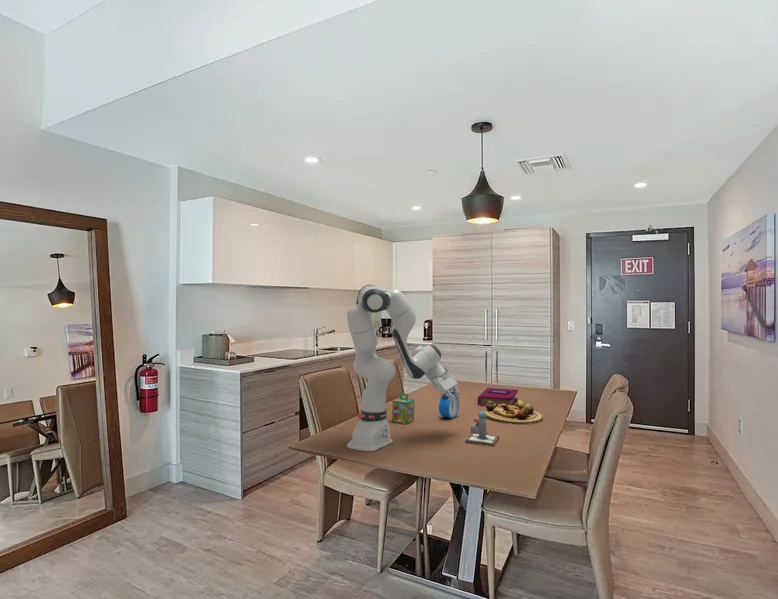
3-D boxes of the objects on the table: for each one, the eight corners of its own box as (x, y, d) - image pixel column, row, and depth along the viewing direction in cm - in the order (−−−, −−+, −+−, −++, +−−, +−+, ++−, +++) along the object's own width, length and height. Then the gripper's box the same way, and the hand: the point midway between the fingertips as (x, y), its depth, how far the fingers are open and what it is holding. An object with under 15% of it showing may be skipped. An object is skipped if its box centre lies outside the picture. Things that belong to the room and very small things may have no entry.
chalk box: (391, 422, 247) (391, 394, 247) (399, 418, 255) (399, 391, 255) (407, 424, 243) (407, 396, 243) (414, 420, 251) (414, 393, 251)
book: (477, 406, 286) (477, 394, 286) (485, 397, 312) (485, 386, 312) (512, 409, 278) (512, 397, 278) (518, 400, 304) (518, 388, 304)
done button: (482, 427, 225) (482, 419, 225) (473, 426, 226) (473, 418, 226) (483, 425, 228) (483, 417, 228) (475, 424, 230) (475, 417, 230)
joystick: (485, 439, 214) (485, 413, 214) (477, 438, 215) (478, 412, 215) (486, 437, 217) (486, 411, 217) (479, 436, 218) (479, 410, 218)
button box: (483, 436, 223) (484, 427, 223) (470, 434, 226) (470, 426, 226) (486, 432, 229) (486, 424, 229) (473, 431, 231) (473, 423, 231)
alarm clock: (447, 420, 250) (448, 393, 250) (438, 419, 254) (438, 391, 254) (459, 416, 261) (459, 389, 261) (449, 414, 265) (449, 388, 265)
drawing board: (493, 446, 207) (493, 443, 207) (465, 442, 213) (465, 439, 213) (499, 438, 219) (499, 435, 219) (471, 435, 225) (471, 432, 225)
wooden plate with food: (472, 416, 261) (472, 402, 261) (502, 407, 283) (503, 393, 283) (523, 429, 238) (523, 413, 238) (552, 418, 260) (553, 403, 260)
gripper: (434, 373, 214) (455, 396, 210) (447, 367, 233) (466, 389, 229) (425, 382, 216) (445, 405, 212) (439, 376, 235) (457, 397, 231)
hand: (456, 397), depth 221 cm, fingers open, 8 cm apart
